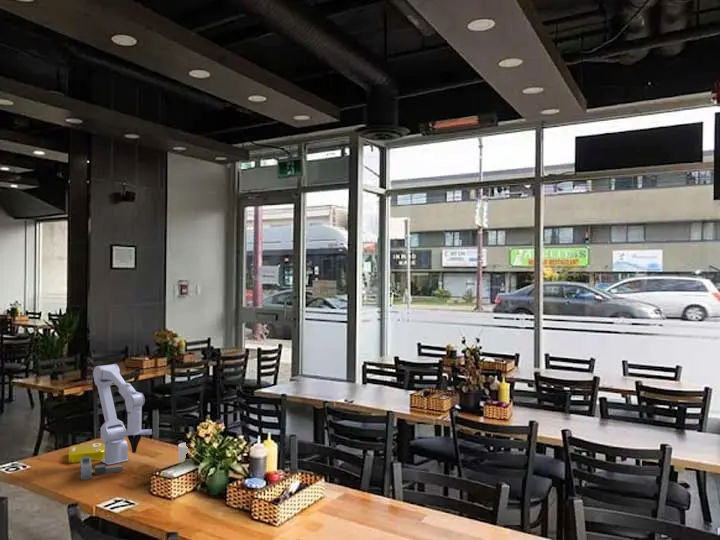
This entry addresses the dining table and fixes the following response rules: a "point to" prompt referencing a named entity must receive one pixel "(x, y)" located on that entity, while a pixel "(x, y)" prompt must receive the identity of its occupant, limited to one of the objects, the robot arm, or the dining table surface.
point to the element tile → (86, 452)
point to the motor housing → (86, 468)
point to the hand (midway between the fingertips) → (133, 452)
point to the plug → (106, 469)
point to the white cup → (182, 451)
